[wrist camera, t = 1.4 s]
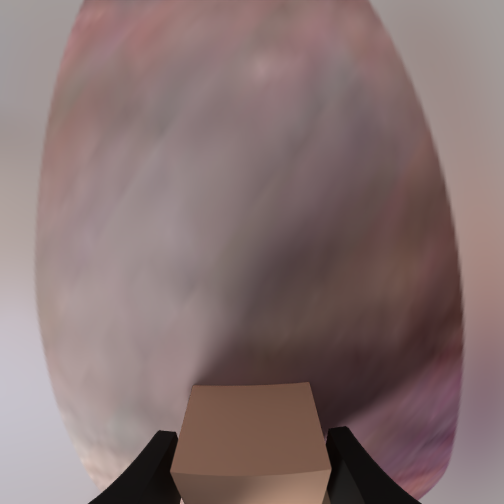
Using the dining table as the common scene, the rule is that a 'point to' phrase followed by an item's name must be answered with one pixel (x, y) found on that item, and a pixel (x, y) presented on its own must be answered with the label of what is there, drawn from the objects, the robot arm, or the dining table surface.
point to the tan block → (251, 446)
